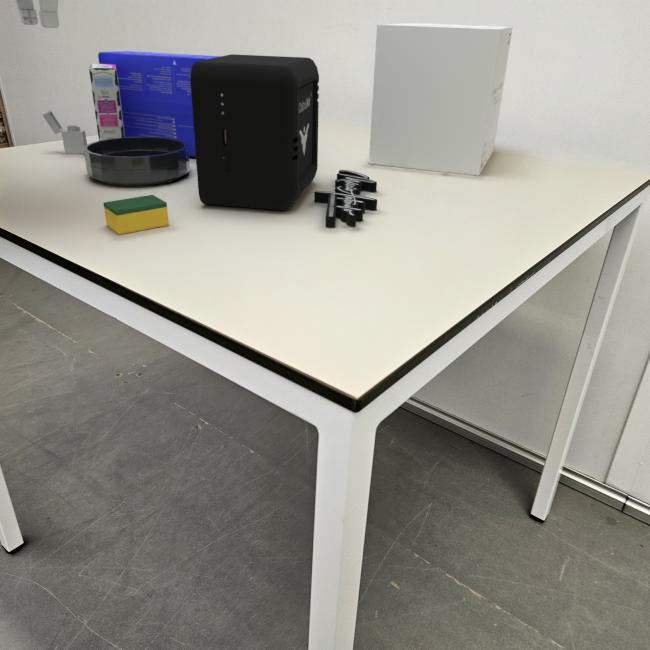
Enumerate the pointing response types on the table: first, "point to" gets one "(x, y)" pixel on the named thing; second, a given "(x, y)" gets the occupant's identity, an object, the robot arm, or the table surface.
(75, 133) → the lighter
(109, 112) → the candy bar box
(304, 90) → the black computer case
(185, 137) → the blue box
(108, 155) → the bowl
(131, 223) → the sponge
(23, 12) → the robot arm
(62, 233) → the table surface
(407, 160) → the cube
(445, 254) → the table surface
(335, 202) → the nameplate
